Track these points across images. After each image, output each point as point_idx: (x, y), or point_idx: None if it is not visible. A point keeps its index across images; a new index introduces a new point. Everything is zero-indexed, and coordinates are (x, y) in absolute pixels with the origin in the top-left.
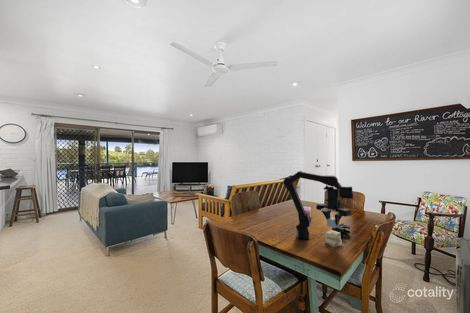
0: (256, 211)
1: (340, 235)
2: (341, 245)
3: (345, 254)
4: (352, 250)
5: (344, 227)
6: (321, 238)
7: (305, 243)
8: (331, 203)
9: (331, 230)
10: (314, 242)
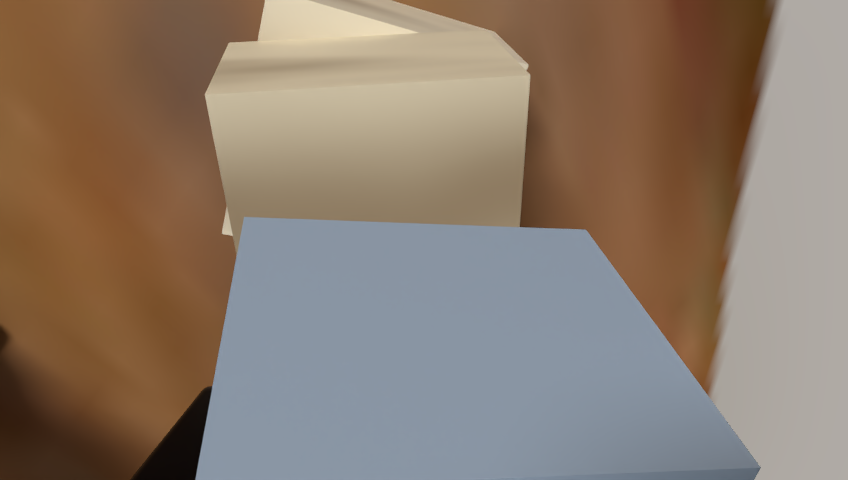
0: None
1: (506, 53)
2: None
3: (643, 290)
4: (697, 90)
5: None
6: (9, 41)
7: (75, 438)
8: None
9: (245, 117)
10: (114, 314)
